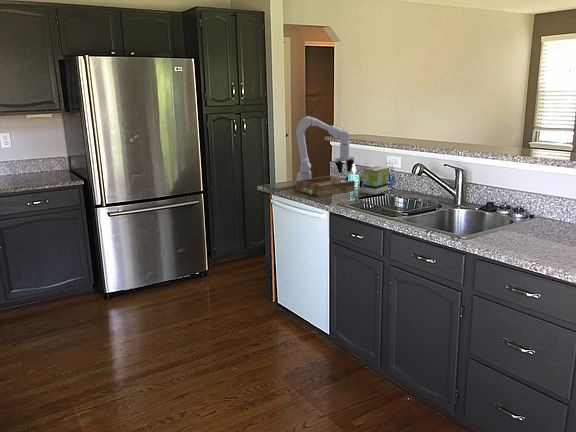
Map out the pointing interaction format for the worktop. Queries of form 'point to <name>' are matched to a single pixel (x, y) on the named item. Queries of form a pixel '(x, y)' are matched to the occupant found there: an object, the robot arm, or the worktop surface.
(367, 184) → the tea box
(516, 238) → the worktop surface
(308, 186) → the trap board
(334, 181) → the maple cube
